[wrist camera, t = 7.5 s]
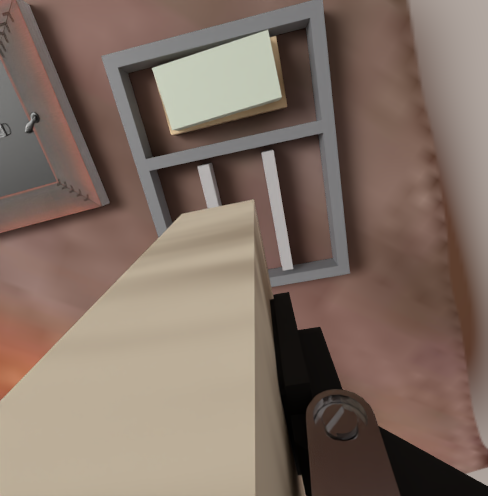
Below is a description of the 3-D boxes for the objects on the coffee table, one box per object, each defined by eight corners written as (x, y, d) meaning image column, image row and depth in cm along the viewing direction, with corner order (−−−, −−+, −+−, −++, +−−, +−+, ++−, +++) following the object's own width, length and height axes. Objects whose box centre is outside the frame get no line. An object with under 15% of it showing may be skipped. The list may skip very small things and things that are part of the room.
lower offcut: (159, 74, 26) (152, 69, 24) (274, 43, 25) (276, 35, 23) (176, 135, 27) (171, 135, 25) (284, 108, 26) (287, 106, 24)
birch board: (181, 213, 12) (-761, 1187, 1) (254, 199, 12) (259, 1393, 1) (225, 368, 15) (135, 1108, 3) (285, 359, 14) (398, 1135, 3)
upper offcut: (159, 73, 24) (151, 68, 22) (266, 38, 23) (268, 29, 21) (178, 130, 25) (172, 130, 23) (279, 100, 24) (281, 97, 22)
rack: (112, 62, 25) (101, 56, 23) (316, 9, 23) (322, -3, 21) (183, 293, 32) (179, 302, 30) (343, 265, 30) (349, 273, 28)
